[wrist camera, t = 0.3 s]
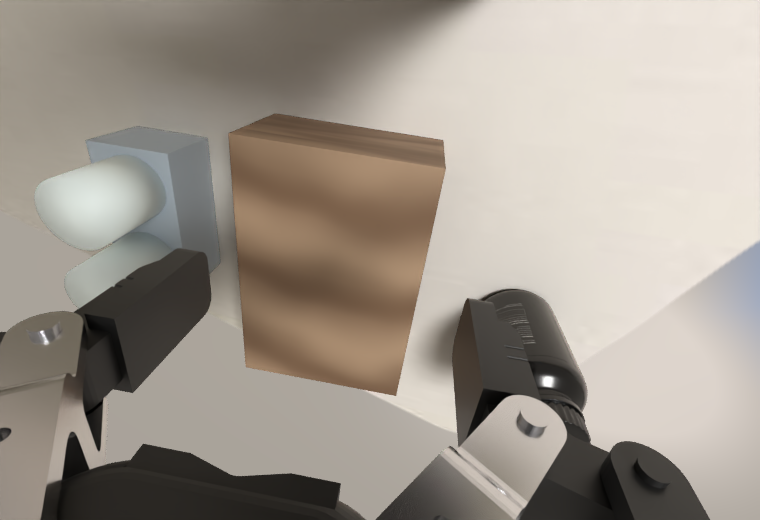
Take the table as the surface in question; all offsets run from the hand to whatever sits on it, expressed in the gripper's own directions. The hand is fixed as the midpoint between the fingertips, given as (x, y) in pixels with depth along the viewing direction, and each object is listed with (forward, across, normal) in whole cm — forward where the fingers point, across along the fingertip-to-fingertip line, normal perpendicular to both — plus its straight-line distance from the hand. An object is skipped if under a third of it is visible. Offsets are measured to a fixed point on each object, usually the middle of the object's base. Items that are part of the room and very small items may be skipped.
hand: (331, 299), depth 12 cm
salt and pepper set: (+18, +17, +6) cm, 25 cm away
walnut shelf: (+18, +3, +7) cm, 20 cm away
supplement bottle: (+19, -12, +12) cm, 25 cm away
